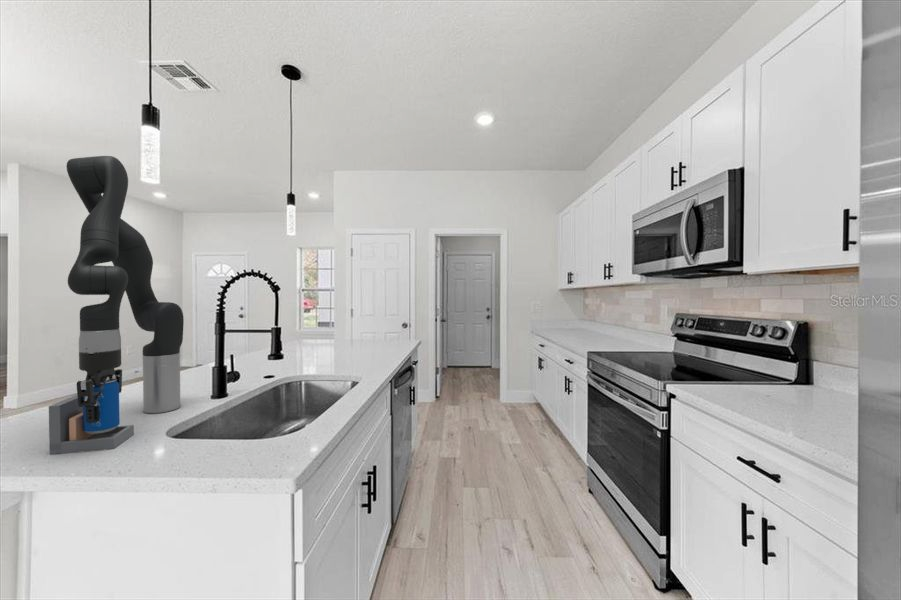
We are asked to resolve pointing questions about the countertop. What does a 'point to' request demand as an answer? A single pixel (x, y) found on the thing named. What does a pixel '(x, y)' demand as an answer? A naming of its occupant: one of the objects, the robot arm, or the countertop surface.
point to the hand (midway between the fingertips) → (101, 417)
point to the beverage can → (105, 409)
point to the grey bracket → (62, 443)
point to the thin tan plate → (77, 428)
